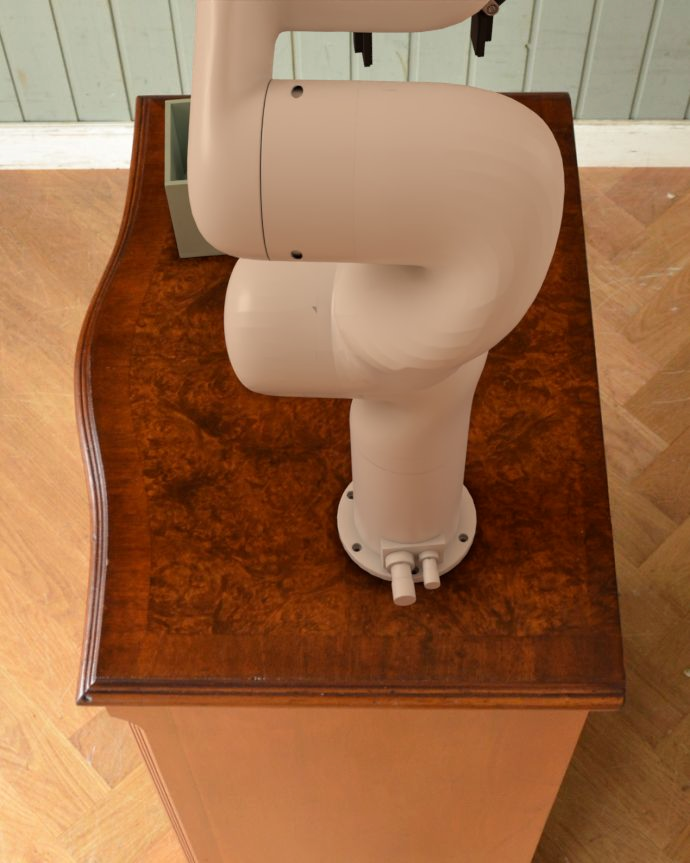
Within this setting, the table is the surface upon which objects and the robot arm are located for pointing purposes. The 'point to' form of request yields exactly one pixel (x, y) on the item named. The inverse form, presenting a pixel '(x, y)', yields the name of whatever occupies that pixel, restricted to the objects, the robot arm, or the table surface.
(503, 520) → the table surface
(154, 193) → the table surface
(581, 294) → the table surface
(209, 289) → the table surface
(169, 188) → the waste bin
